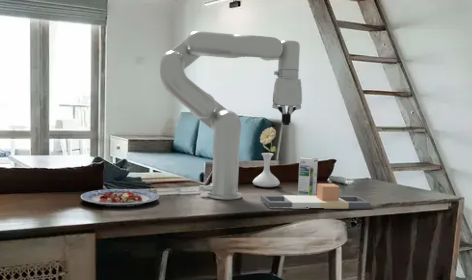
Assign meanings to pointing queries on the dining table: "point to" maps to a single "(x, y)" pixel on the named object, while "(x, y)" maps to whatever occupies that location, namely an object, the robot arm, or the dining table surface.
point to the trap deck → (315, 202)
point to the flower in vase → (267, 161)
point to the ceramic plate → (119, 197)
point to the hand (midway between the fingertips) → (285, 124)
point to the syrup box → (307, 176)
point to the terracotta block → (328, 192)
